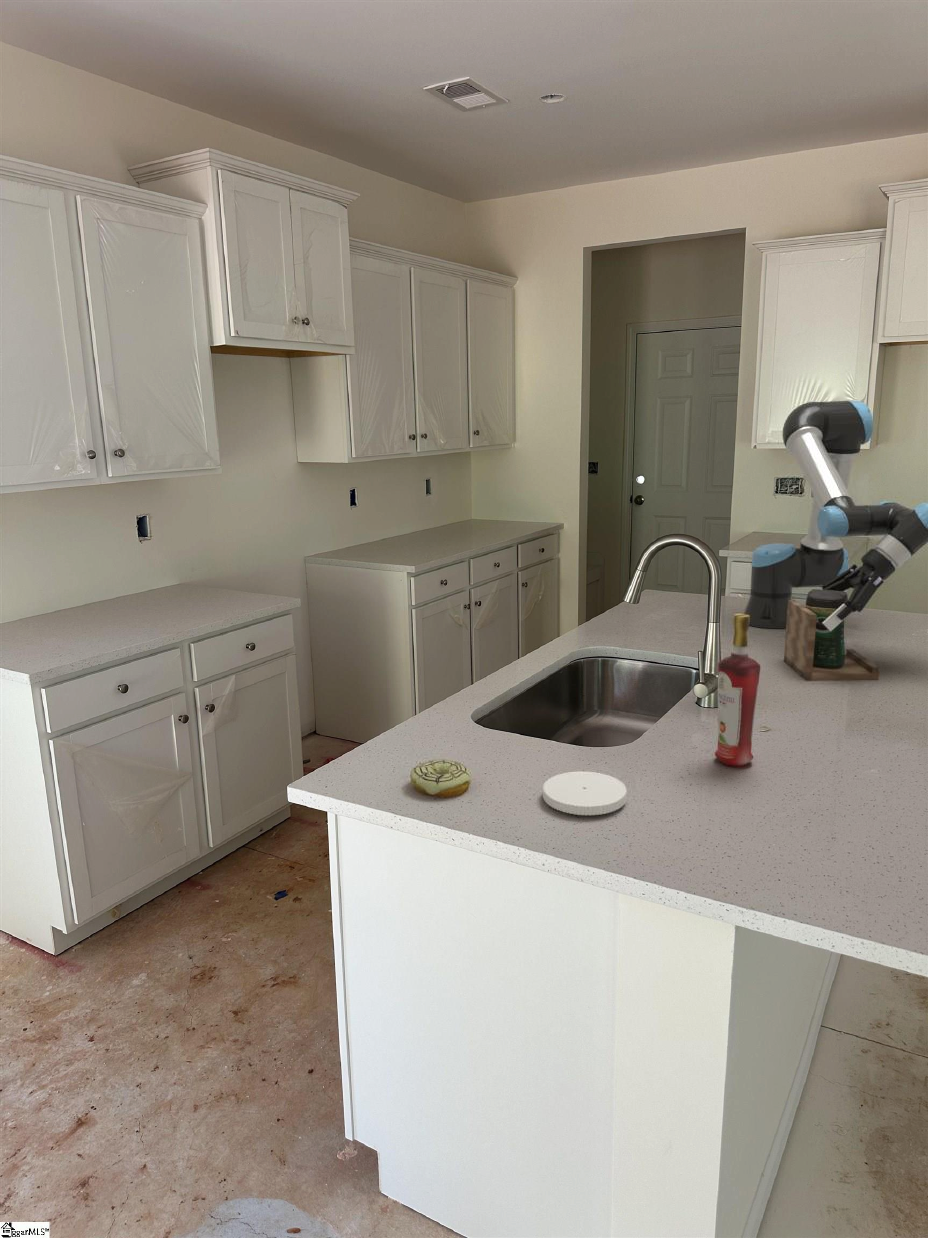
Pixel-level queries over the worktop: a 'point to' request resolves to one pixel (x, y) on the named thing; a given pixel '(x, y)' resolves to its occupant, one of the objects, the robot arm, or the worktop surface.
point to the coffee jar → (827, 642)
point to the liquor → (737, 699)
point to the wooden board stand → (802, 650)
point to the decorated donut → (441, 778)
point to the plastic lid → (584, 793)
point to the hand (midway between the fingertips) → (816, 620)
